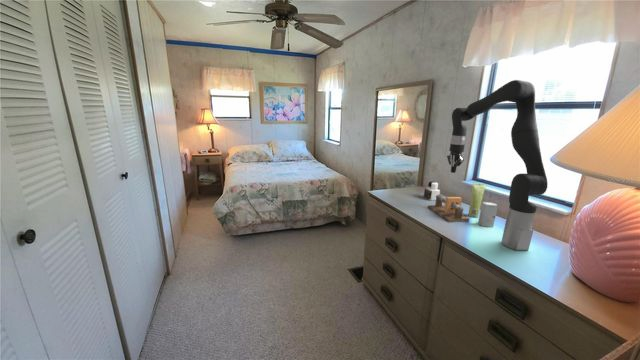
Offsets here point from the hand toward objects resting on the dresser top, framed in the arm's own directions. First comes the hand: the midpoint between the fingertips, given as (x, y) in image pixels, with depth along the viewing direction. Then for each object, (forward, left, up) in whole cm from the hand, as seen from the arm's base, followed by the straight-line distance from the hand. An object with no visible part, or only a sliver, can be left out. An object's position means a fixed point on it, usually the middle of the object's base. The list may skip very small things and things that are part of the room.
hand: (452, 172), depth 154 cm
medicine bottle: (+20, -1, -24) cm, 31 cm away
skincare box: (-24, -7, -24) cm, 34 cm away
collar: (-12, +5, -20) cm, 24 cm away
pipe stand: (-8, +5, -23) cm, 25 cm away
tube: (-12, -9, -24) cm, 28 cm away
